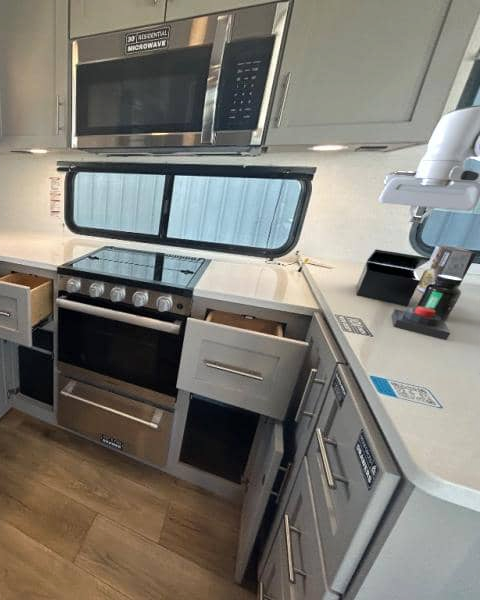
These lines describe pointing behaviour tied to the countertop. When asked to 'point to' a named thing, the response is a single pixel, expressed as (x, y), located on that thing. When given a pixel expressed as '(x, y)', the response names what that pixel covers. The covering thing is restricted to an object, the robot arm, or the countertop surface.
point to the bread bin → (387, 283)
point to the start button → (424, 311)
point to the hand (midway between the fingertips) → (414, 222)
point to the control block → (420, 323)
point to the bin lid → (397, 259)
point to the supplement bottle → (441, 295)
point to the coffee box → (446, 264)
